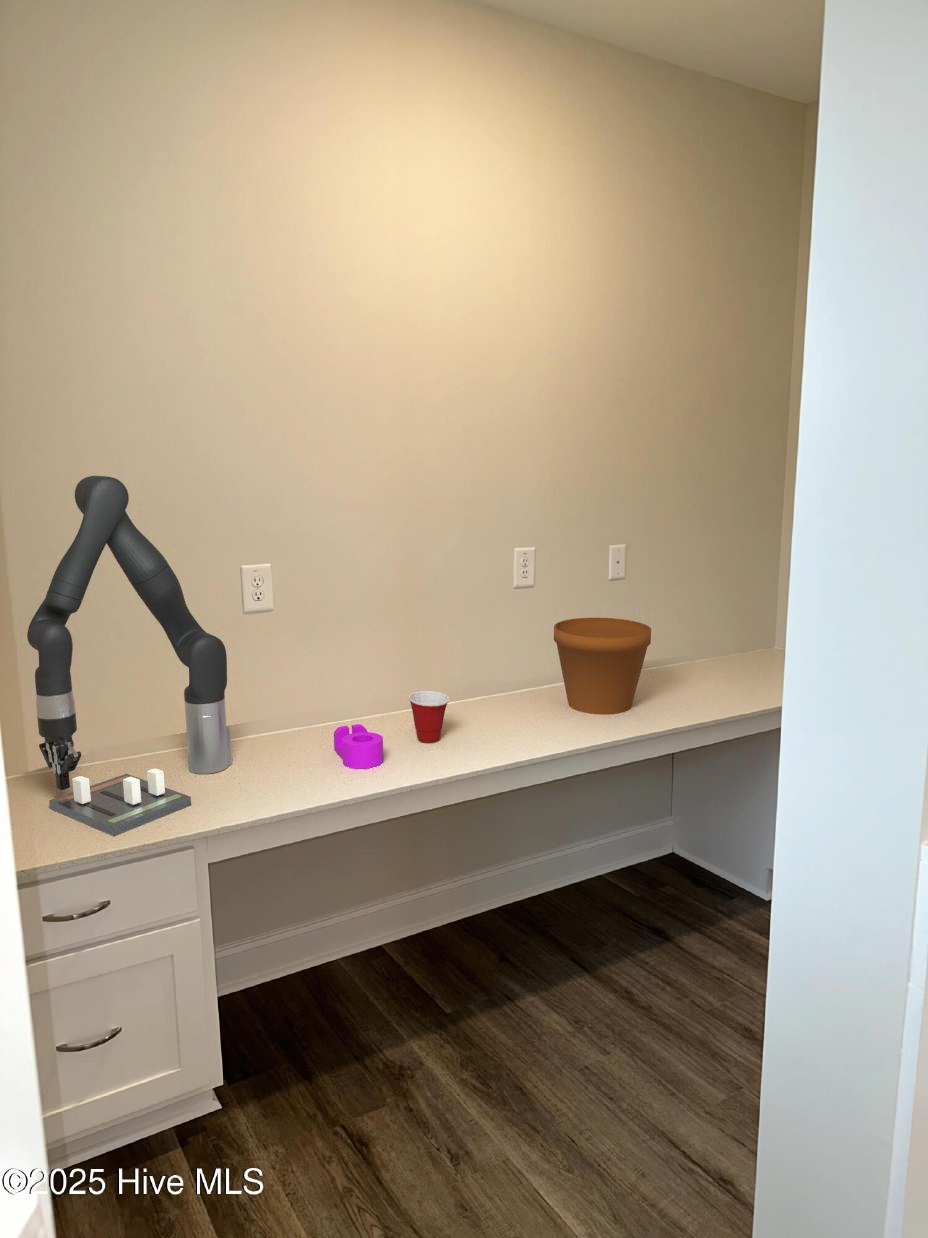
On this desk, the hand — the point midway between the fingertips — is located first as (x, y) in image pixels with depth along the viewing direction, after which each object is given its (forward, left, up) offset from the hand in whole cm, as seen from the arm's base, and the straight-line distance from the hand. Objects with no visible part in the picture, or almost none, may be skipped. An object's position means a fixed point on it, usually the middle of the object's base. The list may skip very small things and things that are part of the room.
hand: (63, 788), depth 200 cm
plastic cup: (-79, +39, -4) cm, 89 cm away
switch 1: (0, +7, -1) cm, 7 cm away
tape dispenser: (-59, +33, -4) cm, 68 cm away
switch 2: (-12, +16, -1) cm, 20 cm away
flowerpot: (-133, +61, -4) cm, 147 cm away
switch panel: (-6, +12, -4) cm, 14 cm away
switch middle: (-6, +16, -1) cm, 17 cm away
